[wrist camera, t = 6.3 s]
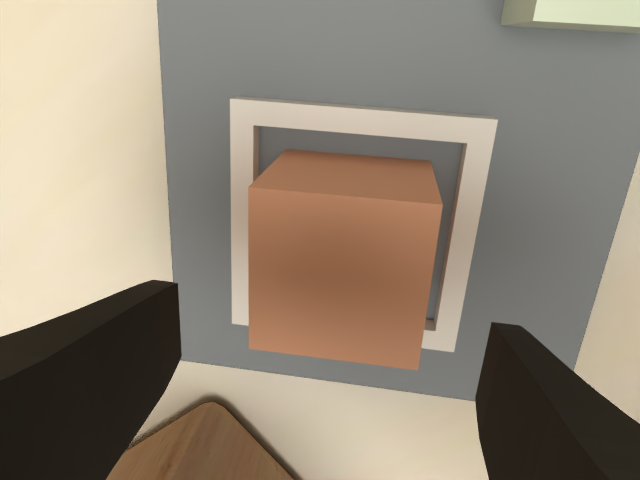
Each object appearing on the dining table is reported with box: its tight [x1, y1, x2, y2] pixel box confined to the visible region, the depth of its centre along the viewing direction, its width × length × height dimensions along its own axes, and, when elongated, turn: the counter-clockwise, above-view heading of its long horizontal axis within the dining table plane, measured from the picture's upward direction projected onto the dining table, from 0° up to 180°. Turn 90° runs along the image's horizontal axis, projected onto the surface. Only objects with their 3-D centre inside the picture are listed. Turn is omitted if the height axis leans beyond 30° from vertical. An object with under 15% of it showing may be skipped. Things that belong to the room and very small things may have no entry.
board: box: [157, 0, 640, 401], centre depth 17 cm, size 22×16×2 cm
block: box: [248, 149, 443, 370], centre depth 16 cm, size 5×5×5 cm
